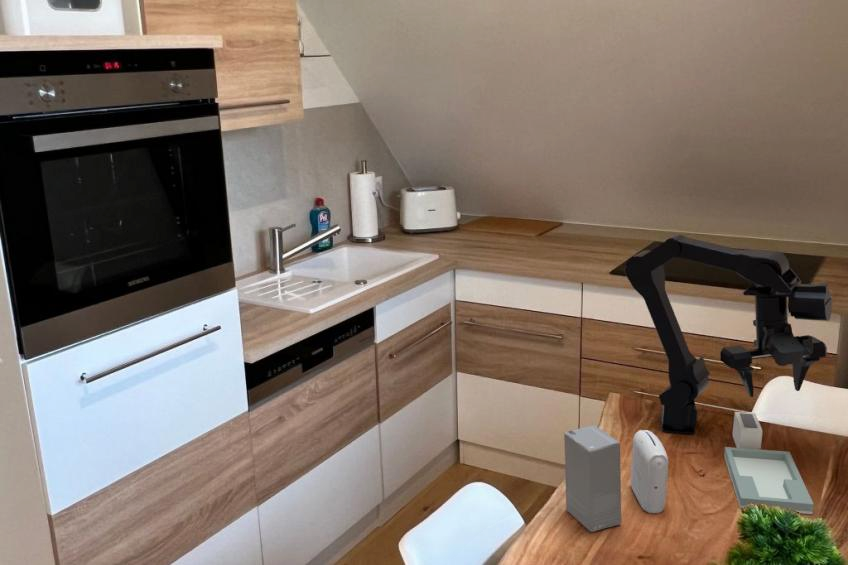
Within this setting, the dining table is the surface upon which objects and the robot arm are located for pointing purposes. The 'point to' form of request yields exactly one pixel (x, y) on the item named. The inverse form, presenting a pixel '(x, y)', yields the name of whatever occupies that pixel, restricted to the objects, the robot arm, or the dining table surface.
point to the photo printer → (649, 471)
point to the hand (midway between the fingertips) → (774, 393)
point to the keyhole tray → (767, 479)
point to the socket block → (747, 431)
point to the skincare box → (593, 477)
